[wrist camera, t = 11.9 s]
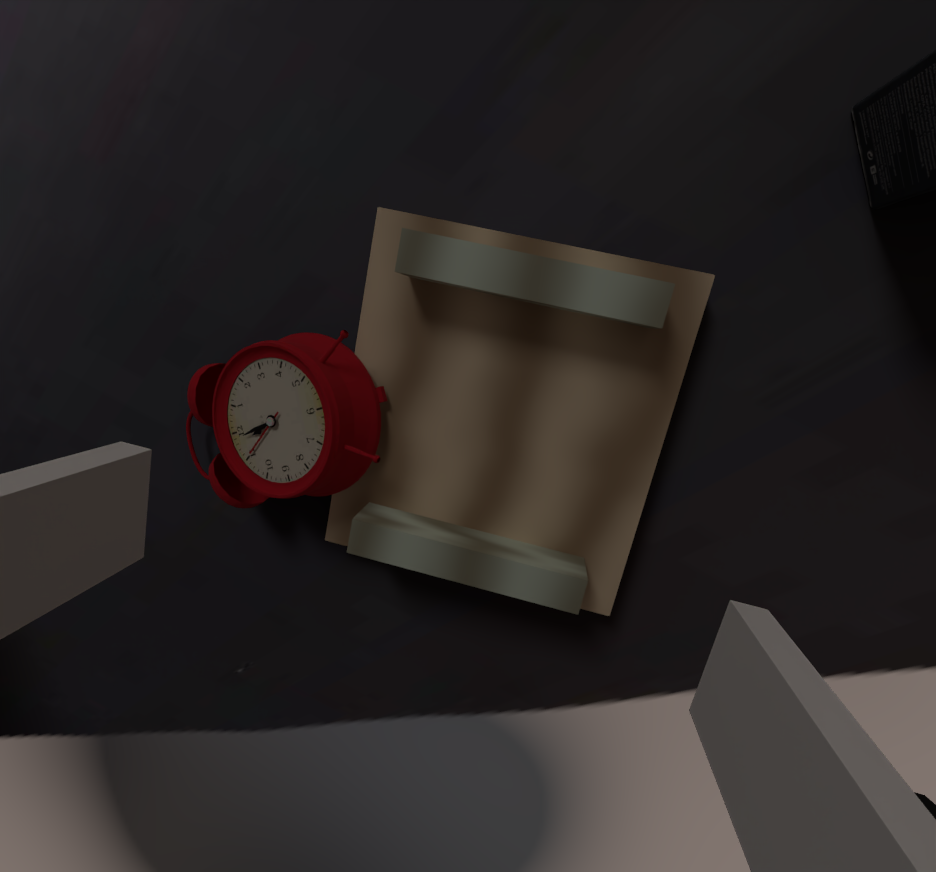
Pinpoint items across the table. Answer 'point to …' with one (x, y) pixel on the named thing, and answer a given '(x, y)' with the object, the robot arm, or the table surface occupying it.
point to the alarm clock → (287, 419)
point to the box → (899, 135)
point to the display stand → (514, 407)
